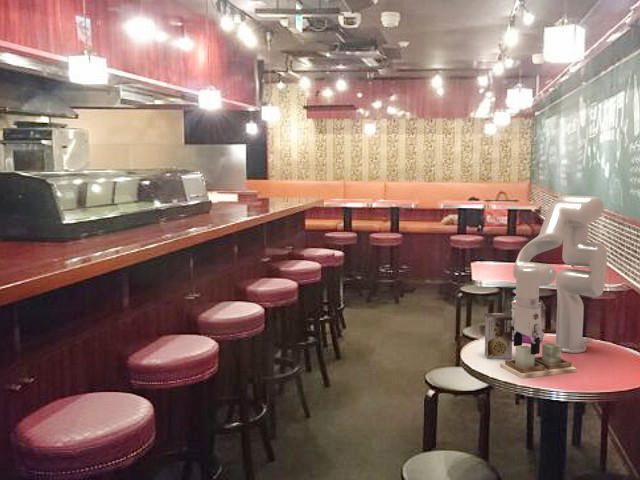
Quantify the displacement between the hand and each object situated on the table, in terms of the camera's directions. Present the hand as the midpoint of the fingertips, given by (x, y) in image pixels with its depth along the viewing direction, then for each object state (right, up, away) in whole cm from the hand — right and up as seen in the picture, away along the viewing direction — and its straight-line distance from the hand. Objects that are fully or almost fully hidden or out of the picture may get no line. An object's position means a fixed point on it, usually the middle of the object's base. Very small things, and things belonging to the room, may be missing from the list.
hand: (526, 349), depth 214 cm
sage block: (-1, -6, 0) cm, 6 cm away
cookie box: (-5, -6, +17) cm, 18 cm away
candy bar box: (+12, -3, +36) cm, 38 cm away
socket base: (+5, -7, +2) cm, 9 cm away
